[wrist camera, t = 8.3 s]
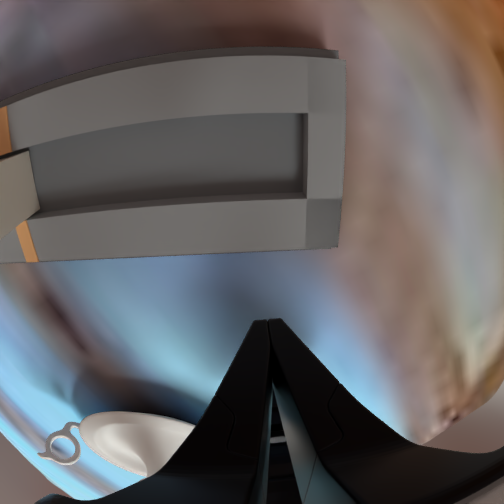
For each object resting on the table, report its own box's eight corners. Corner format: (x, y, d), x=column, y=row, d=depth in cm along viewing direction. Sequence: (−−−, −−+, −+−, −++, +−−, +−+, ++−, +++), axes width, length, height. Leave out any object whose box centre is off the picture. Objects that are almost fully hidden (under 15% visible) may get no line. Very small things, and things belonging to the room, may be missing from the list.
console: (323, 235, 21) (336, 258, 18) (6, 252, 20) (-15, 272, 17) (328, 54, 15) (346, 47, 12) (-23, 116, 15) (-50, 124, 12)
